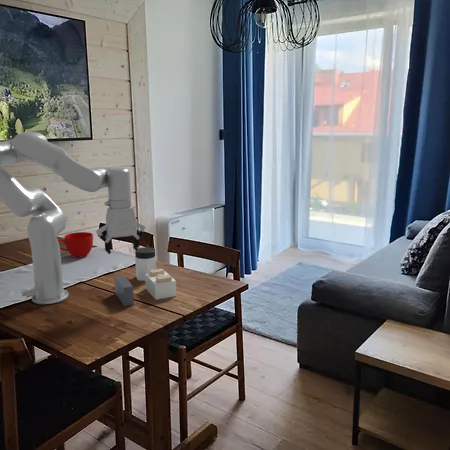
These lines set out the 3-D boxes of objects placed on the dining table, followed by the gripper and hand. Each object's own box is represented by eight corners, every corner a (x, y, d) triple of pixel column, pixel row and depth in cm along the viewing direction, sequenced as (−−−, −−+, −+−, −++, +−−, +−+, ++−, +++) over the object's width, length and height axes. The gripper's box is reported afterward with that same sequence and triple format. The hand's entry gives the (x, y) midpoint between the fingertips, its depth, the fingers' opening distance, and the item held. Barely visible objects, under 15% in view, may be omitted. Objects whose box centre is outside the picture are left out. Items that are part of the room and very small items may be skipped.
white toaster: (155, 299, 163) (155, 280, 161) (145, 288, 173) (145, 270, 171) (176, 296, 166) (175, 276, 165) (165, 285, 177) (164, 267, 175)
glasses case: (124, 306, 157) (123, 287, 156) (115, 294, 168) (114, 276, 167) (133, 304, 159) (133, 286, 157) (124, 292, 170) (123, 275, 168)
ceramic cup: (56, 254, 216) (54, 234, 214) (91, 250, 223) (90, 231, 221) (58, 262, 205) (56, 241, 202) (96, 257, 212) (94, 237, 209)
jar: (135, 275, 188) (133, 247, 186) (154, 273, 191) (153, 246, 188) (137, 282, 180) (136, 253, 177) (157, 280, 182) (156, 252, 180)
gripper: (97, 208, 148) (100, 257, 152) (147, 203, 156) (148, 250, 160) (92, 204, 155) (95, 251, 159) (140, 200, 163) (142, 245, 167)
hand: (122, 251), depth 159 cm, fingers open, 9 cm apart
